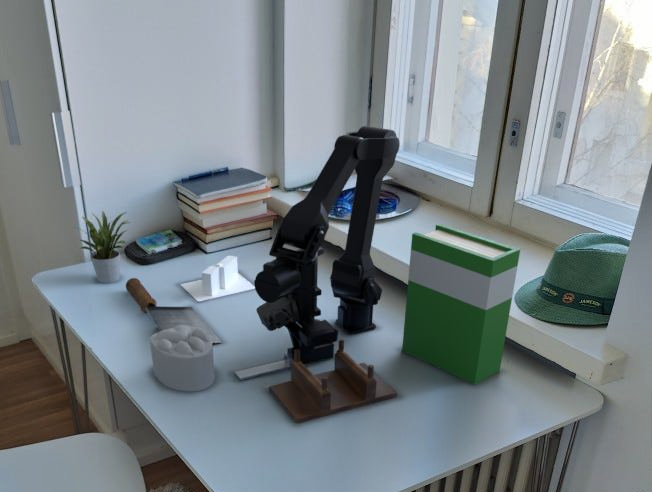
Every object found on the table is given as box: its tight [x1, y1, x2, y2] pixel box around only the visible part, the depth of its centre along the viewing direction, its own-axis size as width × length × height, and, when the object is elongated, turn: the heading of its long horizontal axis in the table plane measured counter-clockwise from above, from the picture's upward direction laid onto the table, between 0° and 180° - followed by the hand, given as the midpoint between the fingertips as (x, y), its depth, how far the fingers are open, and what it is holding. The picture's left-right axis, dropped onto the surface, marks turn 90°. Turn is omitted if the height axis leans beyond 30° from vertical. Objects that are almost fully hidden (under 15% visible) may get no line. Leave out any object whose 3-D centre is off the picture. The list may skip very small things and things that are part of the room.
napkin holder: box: [180, 255, 256, 302], centre depth 181 cm, size 15×11×6 cm
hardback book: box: [401, 223, 521, 385], centre depth 143 cm, size 18×7×24 cm, turn 38°
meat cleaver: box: [125, 277, 223, 344], centre depth 169 cm, size 34×11×4 cm, turn 23°
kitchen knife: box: [234, 342, 335, 381], centre depth 149 cm, size 20×3×3 cm, turn 112°
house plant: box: [74, 211, 130, 284], centre depth 184 cm, size 14×14×16 cm
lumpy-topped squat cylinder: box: [149, 325, 215, 392], centre depth 146 cm, size 10×13×9 cm
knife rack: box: [268, 338, 398, 424], centre depth 139 cm, size 20×12×8 cm, turn 112°
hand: (301, 357), depth 151 cm, fingers closed on kitchen knife, 2 cm apart
